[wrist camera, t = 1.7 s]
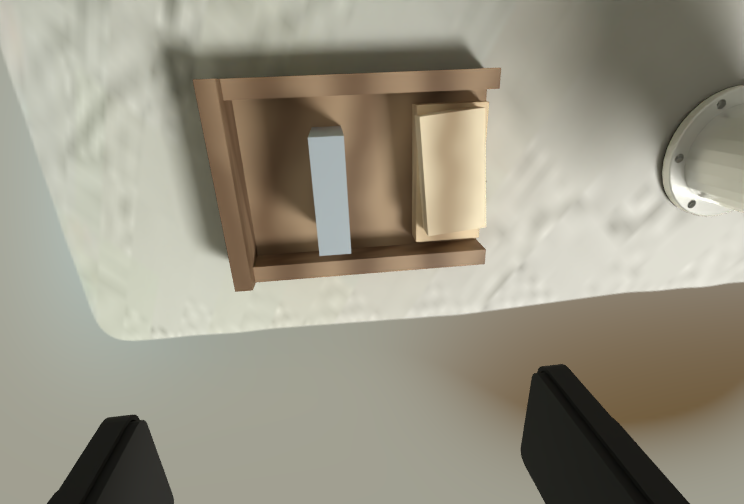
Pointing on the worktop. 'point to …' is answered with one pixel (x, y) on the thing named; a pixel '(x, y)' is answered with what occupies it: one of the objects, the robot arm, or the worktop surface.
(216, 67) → the worktop surface
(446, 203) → the offcut stack
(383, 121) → the brown wooden tray
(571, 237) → the worktop surface
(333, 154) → the blue-grey rectangular block
